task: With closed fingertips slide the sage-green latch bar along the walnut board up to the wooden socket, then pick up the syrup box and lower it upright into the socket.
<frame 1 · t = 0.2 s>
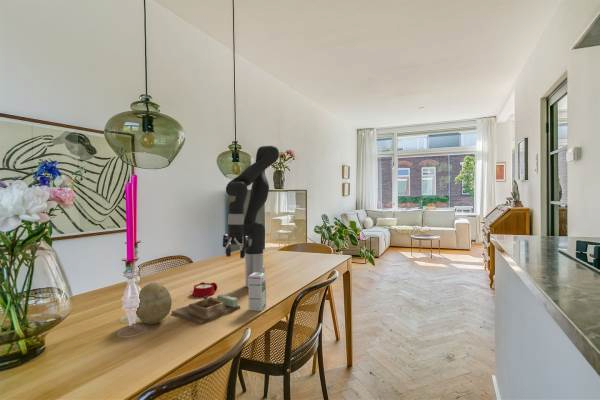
hand: (235, 257, 159), 17 cm above the table, tool pointing down, fingers open, 8 cm apart
syrup box: (257, 309, 139), on the table
alarm clock: (205, 293, 161), on the table
latch bar: (227, 300, 140), point 3 cm above the table, slide at 0.0 cm
housing: (206, 311, 136), on the table
fossilized egg: (153, 322, 125), on the table
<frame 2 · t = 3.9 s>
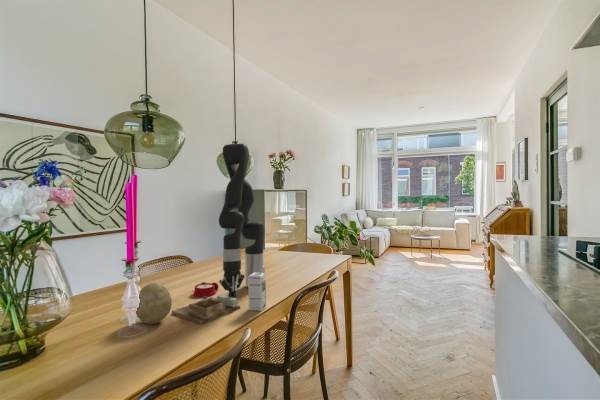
hand: (232, 299, 142), 3 cm above the table, tool pointing down, fingers closed
latch bar: (227, 300, 140), point 3 cm above the table, slide at 0.2 cm, touching gripper
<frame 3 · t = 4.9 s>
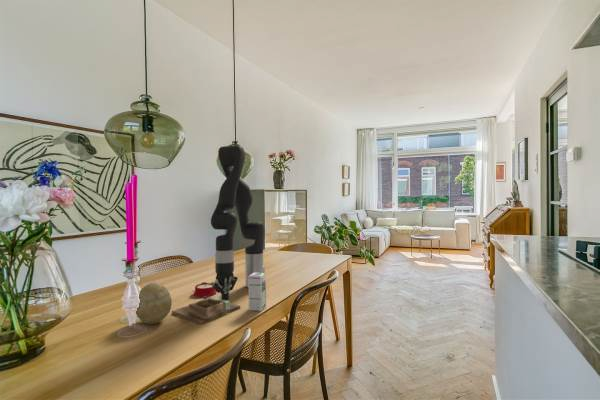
hand: (225, 301, 139), 3 cm above the table, tool pointing down, fingers closed
latch bar: (219, 303, 136), point 3 cm above the table, slide at 4.2 cm, touching gripper
everything else where it was.
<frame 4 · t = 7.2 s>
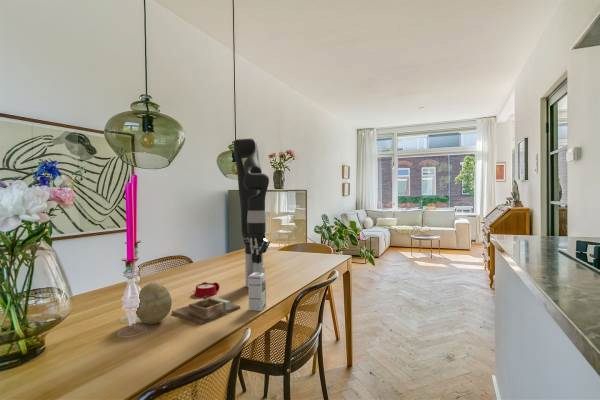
hand: (256, 262, 138), 19 cm above the table, tool pointing down, fingers closed
latch bar: (219, 303, 136), point 3 cm above the table, slide at 4.2 cm
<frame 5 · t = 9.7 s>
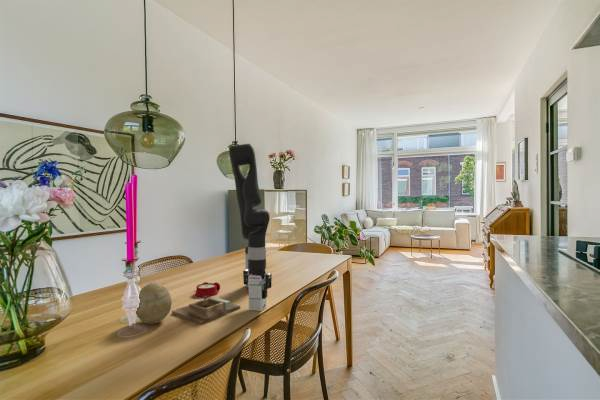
hand: (257, 296, 139), 5 cm above the table, tool pointing down, fingers closed on syrup box, 7 cm apart
syrup box: (257, 309, 139), on the table, touching gripper
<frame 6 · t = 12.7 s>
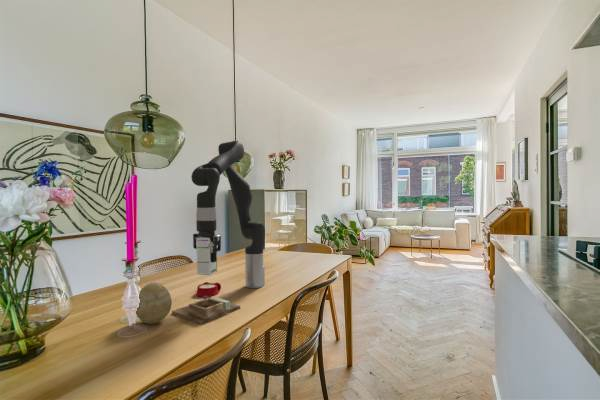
hand: (206, 260, 131), 22 cm above the table, tool pointing down, fingers closed on syrup box, 7 cm apart
syrup box: (207, 273, 131), point 16 cm above the table, touching gripper
when the fingers open (8 cm above the table, at t = 15.9 s): syrup box drops 1 cm, resting on housing.
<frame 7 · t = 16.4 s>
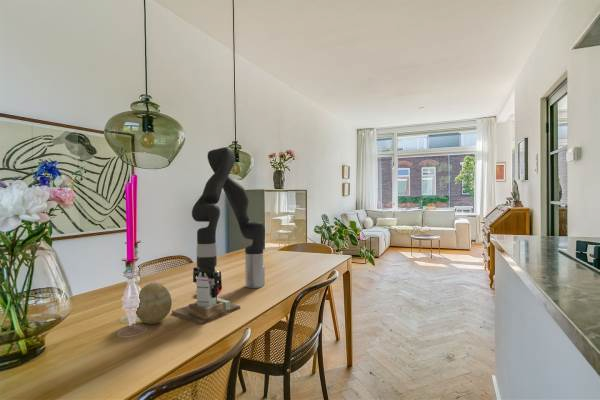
hand: (207, 295, 131), 8 cm above the table, tool pointing down, fingers open, 8 cm apart
syrup box: (207, 312, 132), point 1 cm above the table, touching housing
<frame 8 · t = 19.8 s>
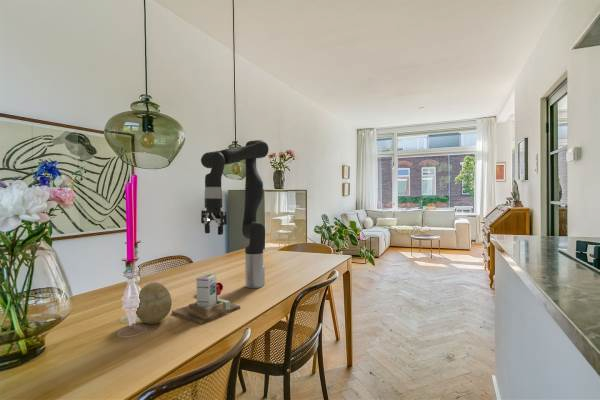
hand: (213, 233, 147), 30 cm above the table, tool pointing down, fingers open, 8 cm apart
at the end: syrup box 0.4 cm from the target spot on the housing, point 1.0 cm above the housing's base; syrup box tilted 0°; latch bar slide at 4.2 cm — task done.
